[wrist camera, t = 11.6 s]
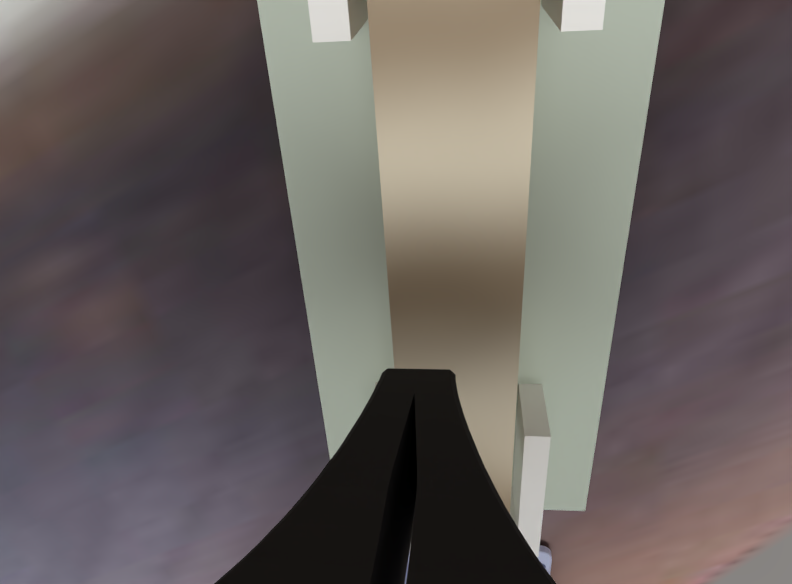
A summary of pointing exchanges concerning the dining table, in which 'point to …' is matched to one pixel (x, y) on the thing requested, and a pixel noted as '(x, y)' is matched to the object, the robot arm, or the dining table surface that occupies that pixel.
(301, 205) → the cap board
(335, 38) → the end caps
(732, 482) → the dining table surface
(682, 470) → the dining table surface
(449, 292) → the slat
